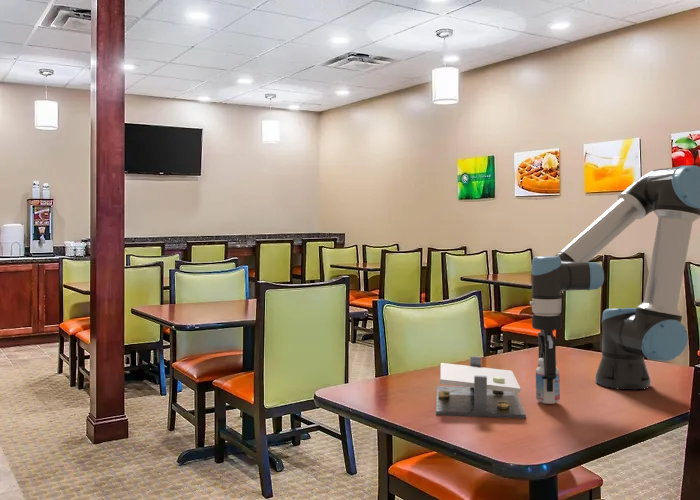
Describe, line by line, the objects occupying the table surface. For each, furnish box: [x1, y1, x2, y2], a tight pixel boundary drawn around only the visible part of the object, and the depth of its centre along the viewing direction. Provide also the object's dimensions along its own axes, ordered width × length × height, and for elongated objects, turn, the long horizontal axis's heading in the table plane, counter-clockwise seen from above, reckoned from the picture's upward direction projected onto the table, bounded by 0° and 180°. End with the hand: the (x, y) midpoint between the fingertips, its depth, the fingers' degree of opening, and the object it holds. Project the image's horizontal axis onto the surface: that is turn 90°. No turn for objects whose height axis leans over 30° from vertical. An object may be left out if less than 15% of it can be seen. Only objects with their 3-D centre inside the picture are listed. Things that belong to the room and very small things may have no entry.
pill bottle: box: [535, 357, 561, 404], centre depth 172 cm, size 6×6×11 cm
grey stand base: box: [435, 355, 527, 419], centre depth 173 cm, size 22×26×10 cm
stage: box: [439, 362, 521, 394], centre depth 173 cm, size 20×22×2 cm
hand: (547, 399), depth 172 cm, fingers closed on pill bottle, 6 cm apart
